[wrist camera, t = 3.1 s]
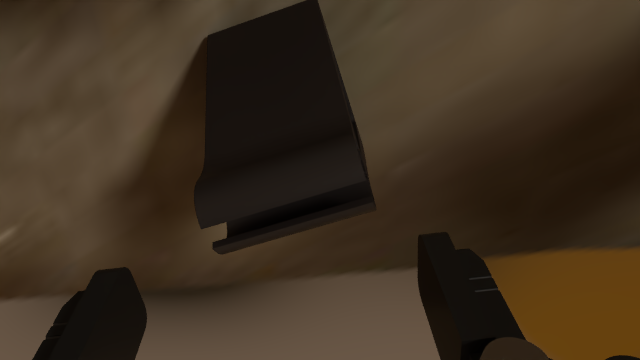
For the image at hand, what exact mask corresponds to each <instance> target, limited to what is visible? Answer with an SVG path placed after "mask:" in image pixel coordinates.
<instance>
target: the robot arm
mask: <svg viewBox="0 0 640 360" xmlns="http://www.w3.org/2000/svg"><path fill="white" fill-rule="evenodd" d="M418 286H419V292H420V296H421V300H422V303H423V306H424V309H425V313H426V316H427V319H428V321H429V325H430V328H431V331H432V334H433V337H434V340H435V343H436V346H437V349H438V353H439V356H440V359H441V360H552V359H550V358H548V357H547V355H546V354H545V353H544V352H543V351H542V350H541V349H540V348H538V347H537V346H535V345H534V344H532V343H530V342H528V341H527V340H526V339H525V337H524V336H523V334H522V332H521V330H520V328H519V326H518V324H517V323H516V321H515V319H514V317H513V315H512V313H511V311H510V309H509V308H508V306H507V304H506V302H505V300H504V298H503V296H502V294H501V292H500V291H498V287H497V285H496V283H495V281H494V279H493V278H492V277H491V274H490V272H489V270H488V268H487V266H486V264H485V262H484V260H482V259H481V258H480V257H479V256H477V255H476V254H475V253H474V252H473V251H471V250H470V249H460V250H455V248H454V245H453V243H452V241H451V239H450V237H449V235H448V233H447V232H441V233H432V234H423V235H419V237H418ZM146 322H147V313H146V308H145V305H144V302H143V300H142V298H141V295H140V293H139V290H138V288H137V286H136V283H135V281H134V279H133V276H132V274H131V272H130V270H129V269H128V268H126V267H123V268H114V269H105V270H98V271H96V272H95V273H94V275H93V277H92V279H91V280H90V282H89V284H88V286H87V288H86V290H85V291H78V292H77V293H76V294H75V295H74V296H73V297H72V298H71V299H70V300H69V301H68V302H67V303H66V304H65V305H64V306H63V307H62V309H61V310H60V312H59V314H58V316H57V317H56V319H55V321H54V323H53V324H54V325H53V326H52V327H51V328H50V330H49V331H48V333H47V335H46V340H44V341H43V342H42V344H41V345H40V347H39V349H38V351H37V352H36V354H35V356H34V358H33V359H32V360H135V357H136V354H137V352H138V348H139V346H140V343H141V340H142V337H143V334H144V331H145V328H146ZM606 360H640V359H639V358H636V357H632V356H622V355H619V356H613V357H609V358H607V359H606Z"/></svg>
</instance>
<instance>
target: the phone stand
mask: <svg viewBox="0 0 640 360" xmlns="http://www.w3.org/2000/svg"><path fill="white" fill-rule="evenodd" d="M194 203H195V210H196V214H197V218H198V222H199V225H200V228H201V229H204V228H208V227H211V226H214V225H218V224H221V223H224V222H227V238H226V239H222V240H219V241H215V242H213V248H212V249H213V250H214V251H215V252H217V253H218V254H226V253H229V252H232V251H236V250H239V249H243V248H246V247H250V246H253V245H257V244H260V243H264V242H267V241H271V240H274V239H278V238H281V237H285V236H288V235H292V234H295V233H298V232H302V231H305V230H309V229H312V228H316V227H319V226H323V225H326V224H330V223H333V222H337V221H340V220H344V219H347V218H351V217H354V216H358V215H361V214H364V213H368V212H371V211H375V210H376V205H375V201H374V197H373V194H372V190H371V186H370V182H369V177H368V172H367V166H366V160H365V154H364V148H363V144H362V141H361V138H360V135H359V132H358V128H357V125H356V122H355V119H354V115H353V112H352V109H351V106H350V103H349V99H348V96H347V93H346V90H345V87H344V83H343V80H342V77H341V74H340V71H339V67H338V64H337V61H336V58H335V55H334V51H333V48H332V45H331V42H330V39H329V35H328V32H327V29H326V26H325V23H324V19H323V16H322V13H321V10H320V7H319V3H318V0H306V1H303V2H300V3H298V4H295V5H292V6H289V7H286V8H284V9H281V10H278V11H275V12H272V13H269V14H267V15H264V16H261V17H258V18H255V19H253V20H250V21H247V22H244V23H241V24H238V25H236V26H233V27H230V28H227V29H224V30H222V31H219V32H216V33H213V34H210V35H208V40H207V83H206V125H205V160H204V167H203V171H202V174H201V176H200V178H199V179H198V180H197V182H196V185H195V190H194Z"/></svg>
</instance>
